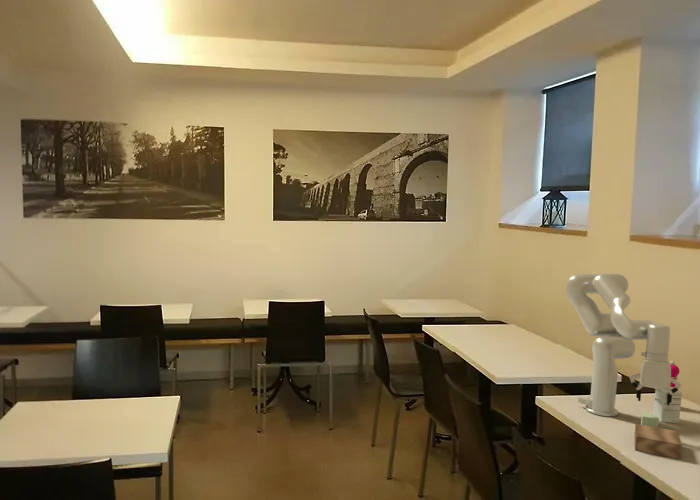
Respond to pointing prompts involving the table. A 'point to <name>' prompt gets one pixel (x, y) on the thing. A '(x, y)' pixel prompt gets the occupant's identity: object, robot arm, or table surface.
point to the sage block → (649, 419)
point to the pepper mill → (674, 372)
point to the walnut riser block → (657, 441)
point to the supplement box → (667, 406)
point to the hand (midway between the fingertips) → (653, 402)
